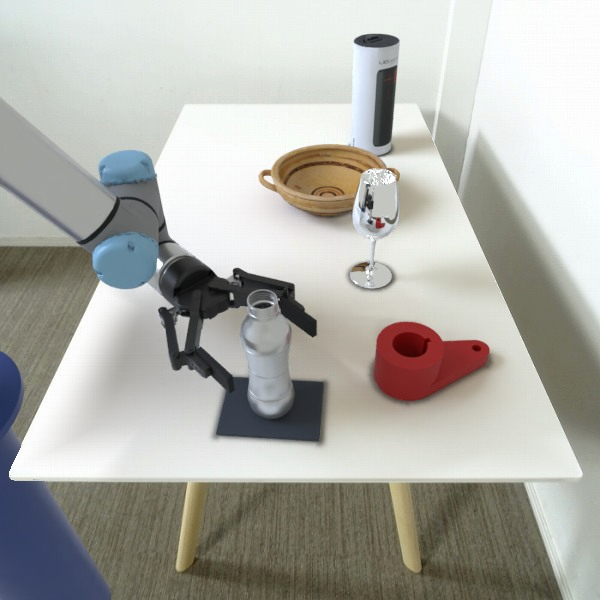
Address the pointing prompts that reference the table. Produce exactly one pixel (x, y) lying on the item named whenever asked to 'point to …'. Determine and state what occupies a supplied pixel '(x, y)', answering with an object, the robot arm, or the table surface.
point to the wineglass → (374, 222)
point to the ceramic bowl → (322, 177)
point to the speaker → (374, 91)
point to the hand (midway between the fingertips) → (275, 355)
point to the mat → (292, 425)
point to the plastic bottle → (267, 355)
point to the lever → (422, 360)
